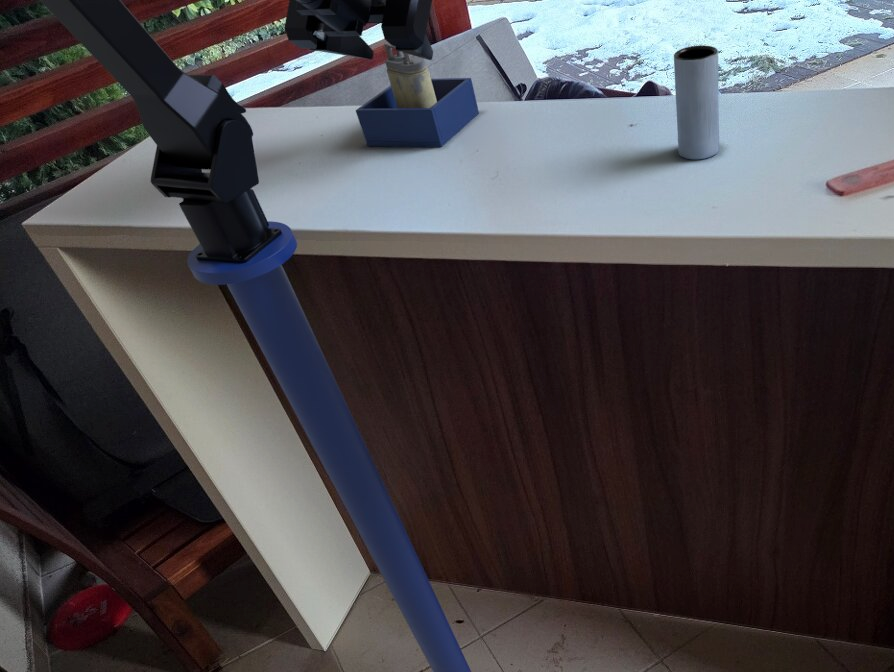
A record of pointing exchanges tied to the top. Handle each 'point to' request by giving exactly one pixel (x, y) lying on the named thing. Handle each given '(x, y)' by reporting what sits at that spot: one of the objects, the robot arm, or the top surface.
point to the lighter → (409, 80)
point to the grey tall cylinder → (697, 101)
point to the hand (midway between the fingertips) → (401, 55)
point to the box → (419, 116)
